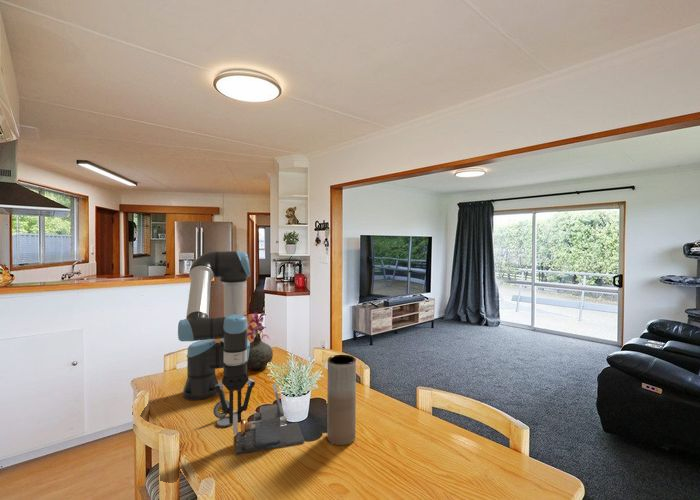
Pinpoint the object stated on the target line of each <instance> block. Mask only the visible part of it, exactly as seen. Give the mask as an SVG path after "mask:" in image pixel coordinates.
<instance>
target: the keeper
mask: <svg viewBox="0 0 700 500" xmlns="http://www.w3.org/2000/svg"><path fill="white" fill-rule="evenodd" d="M272 388H273V392H274V395H275V398H276V402H277V403H276V404H277V407H278V411H279V415H280V417H283V416H285V413H284V409H283V406H282V402H281V401H280V398H279V397H280V396H279V395H278V390H277V386H276V383H272Z"/></svg>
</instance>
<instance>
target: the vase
mask: <svg viewBox="0 0 700 500" xmlns="http://www.w3.org/2000/svg"><path fill="white" fill-rule="evenodd" d="M266 315H267V314H266V313H265V312H262V313H261V314H260V315H258V312H254V313H251V316H252V318H251V319H250V320H249V322H248V323H247V325H248V327H247V330H249V331H250V332H248V331H247V338H248V337H249V336H250V337H249V338H250V339H251V340H253V341H251V342H250V348H249V357H248V361H247V369H250V370H251V371H260V369H261V370H263V369H264V368H265V367H267V363H268V362H270V363H271V362H272V360H273V358H274V357H273V355H274V351H273V348H272V347H271V345H269V344H268V343H266V342H264V341H263V339H264V337H266V338H267V339H269V340H271V338H270V336H268V335H267V334H264V332H263V331H264V329H266V328H267V327H266V326H263V324H262V323H264V316H266ZM252 323H255V324H256V326H254V327H253V326H252ZM262 368H263V369H262Z"/></svg>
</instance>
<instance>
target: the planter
mask: <svg viewBox="0 0 700 500" xmlns="http://www.w3.org/2000/svg"><path fill="white" fill-rule="evenodd" d="M356 377H357V360H356V357H354V356H353V355H348V354H335V355H331V356H330V357H328V359H327V404H326V405H327V410H326V411H327V412H326V413H327V414H326V415H327V417H326V420H327V421H326V422H327V424H326V426H327V428H326V429H327V432H326V433H327V435H326V436H327V440H328V442H329V443H331V444H332V445H335V446H348V445H350V444H352V443H353V442H355V440H356V433H357V431H356V422H357V421H356V420H357V419H356V418H357V417H356V410H357V404H356V402H357V397H356V396H357V395H356V394H357V391H356V389H357V385H356V384H357V378H356Z"/></svg>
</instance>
